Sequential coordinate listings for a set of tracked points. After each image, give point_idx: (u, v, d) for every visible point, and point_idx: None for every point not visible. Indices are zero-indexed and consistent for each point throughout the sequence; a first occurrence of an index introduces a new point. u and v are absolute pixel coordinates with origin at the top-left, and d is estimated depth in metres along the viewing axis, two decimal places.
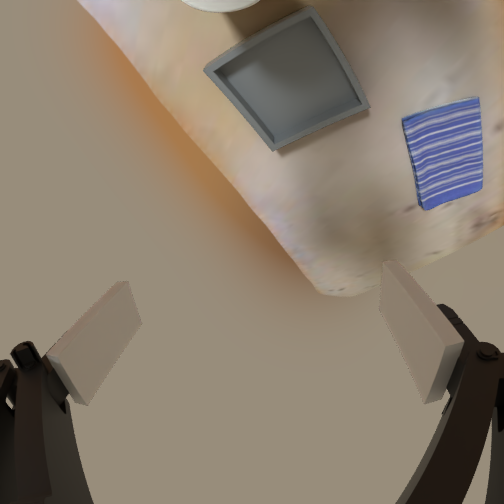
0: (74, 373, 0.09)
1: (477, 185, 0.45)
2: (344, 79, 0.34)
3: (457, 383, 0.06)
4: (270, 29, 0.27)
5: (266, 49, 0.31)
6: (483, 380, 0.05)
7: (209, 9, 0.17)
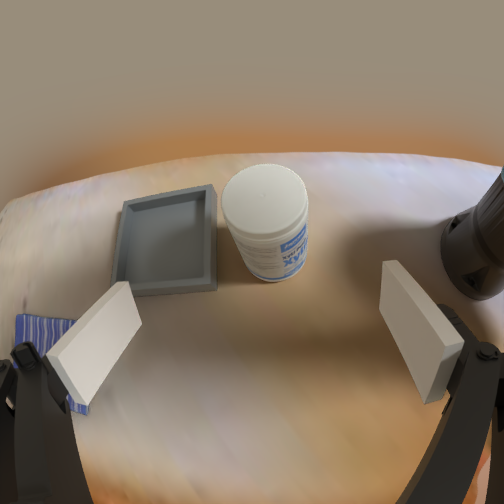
0: (74, 373, 0.09)
1: None
2: None
3: (457, 383, 0.06)
4: (209, 242, 0.42)
5: (198, 237, 0.45)
6: (484, 380, 0.05)
7: (236, 175, 0.32)
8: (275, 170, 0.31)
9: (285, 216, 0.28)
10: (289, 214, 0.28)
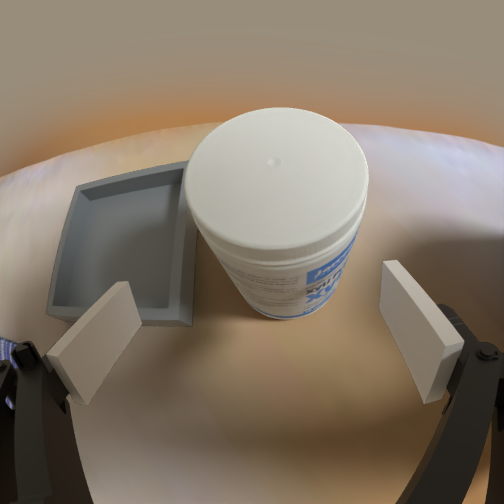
0: (74, 373, 0.09)
1: None
2: (88, 308, 0.27)
3: (457, 383, 0.06)
4: (181, 249, 0.25)
5: (168, 240, 0.29)
6: (484, 380, 0.05)
7: (221, 127, 0.15)
8: (299, 118, 0.14)
9: (325, 210, 0.12)
10: (334, 206, 0.12)
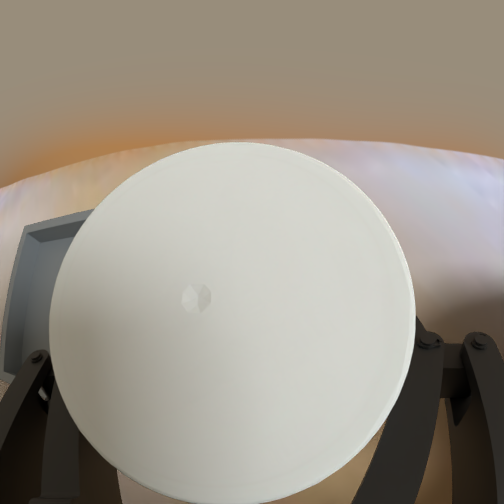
0: None
1: None
2: None
3: None
4: None
5: None
6: (426, 368, 0.06)
7: (115, 193, 0.08)
8: (267, 169, 0.07)
9: (303, 442, 0.04)
10: (325, 431, 0.04)
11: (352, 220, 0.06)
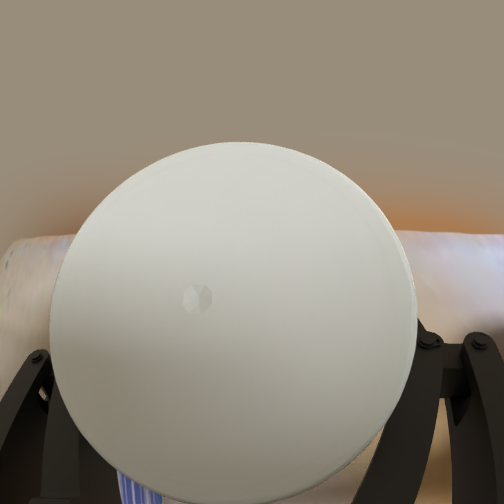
0: None
1: None
2: None
3: None
4: None
5: None
6: (426, 368, 0.06)
7: (116, 193, 0.08)
8: (268, 169, 0.07)
9: (304, 443, 0.04)
10: (327, 433, 0.04)
11: (354, 220, 0.06)
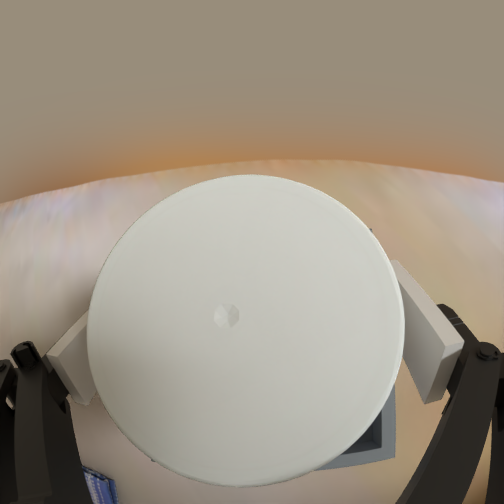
0: (74, 373, 0.09)
1: None
2: None
3: (457, 383, 0.06)
4: None
5: None
6: (484, 380, 0.05)
7: (144, 218, 0.09)
8: (282, 202, 0.08)
9: (314, 430, 0.06)
10: (332, 421, 0.06)
11: (354, 250, 0.07)
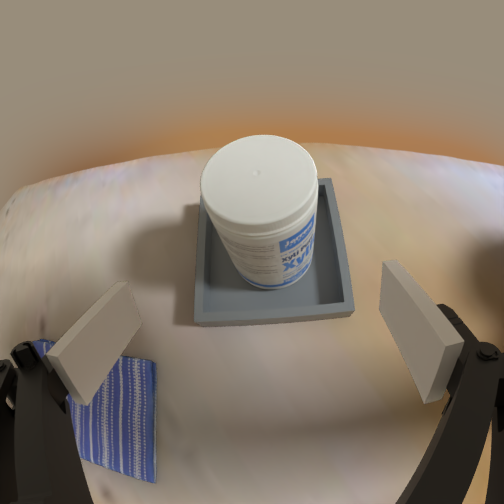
0: (74, 373, 0.09)
1: None
2: (240, 311, 0.32)
3: (457, 383, 0.06)
4: (345, 254, 0.31)
5: (317, 246, 0.34)
6: (483, 380, 0.05)
7: (222, 149, 0.23)
8: (274, 142, 0.23)
9: (287, 201, 0.20)
10: (292, 198, 0.20)
11: (299, 154, 0.22)
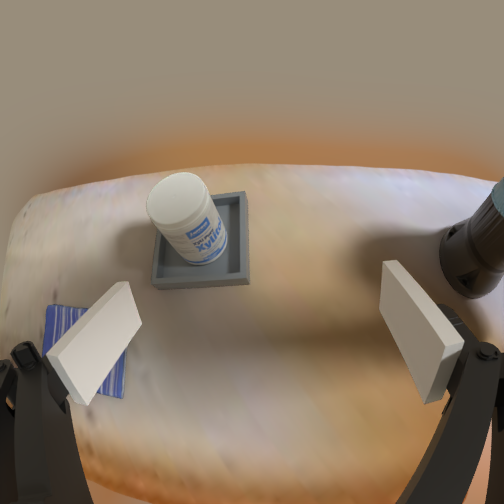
0: (74, 373, 0.09)
1: None
2: None
3: (457, 383, 0.06)
4: (244, 242, 0.48)
5: (232, 237, 0.52)
6: (483, 380, 0.05)
7: (160, 182, 0.41)
8: (187, 177, 0.41)
9: (185, 211, 0.38)
10: (188, 210, 0.38)
11: (197, 184, 0.40)
